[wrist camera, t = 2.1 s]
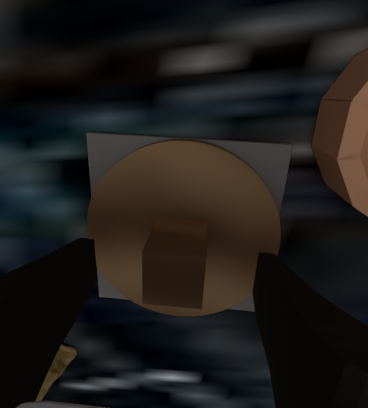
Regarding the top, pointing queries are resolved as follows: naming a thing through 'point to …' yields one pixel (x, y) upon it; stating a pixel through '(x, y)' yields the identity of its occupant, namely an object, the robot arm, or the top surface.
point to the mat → (247, 150)
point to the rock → (57, 368)
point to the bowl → (345, 134)
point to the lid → (182, 227)
